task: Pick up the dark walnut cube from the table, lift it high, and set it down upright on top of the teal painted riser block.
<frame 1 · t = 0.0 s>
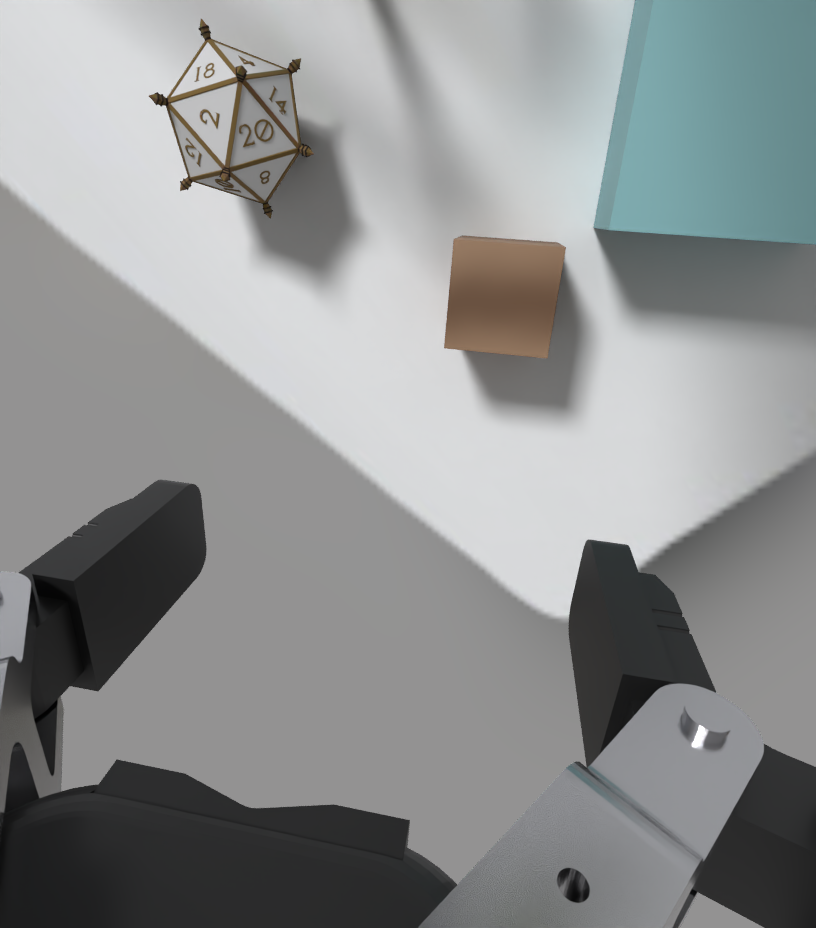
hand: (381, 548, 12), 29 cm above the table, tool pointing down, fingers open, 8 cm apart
walnut cube: (503, 287, 37), on the table
game die: (267, 136, 36), on the table
riser: (725, 119, 31), on the table
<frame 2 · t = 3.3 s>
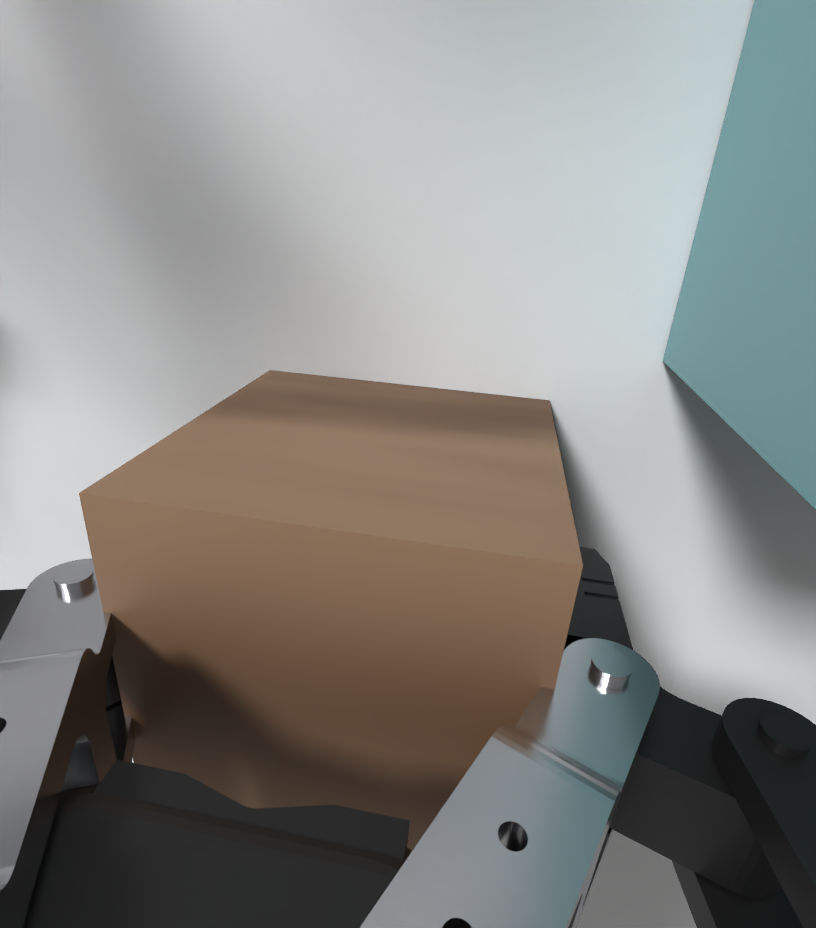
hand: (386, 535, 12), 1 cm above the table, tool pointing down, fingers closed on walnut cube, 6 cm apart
walnut cube: (397, 509, 13), on the table, touching gripper
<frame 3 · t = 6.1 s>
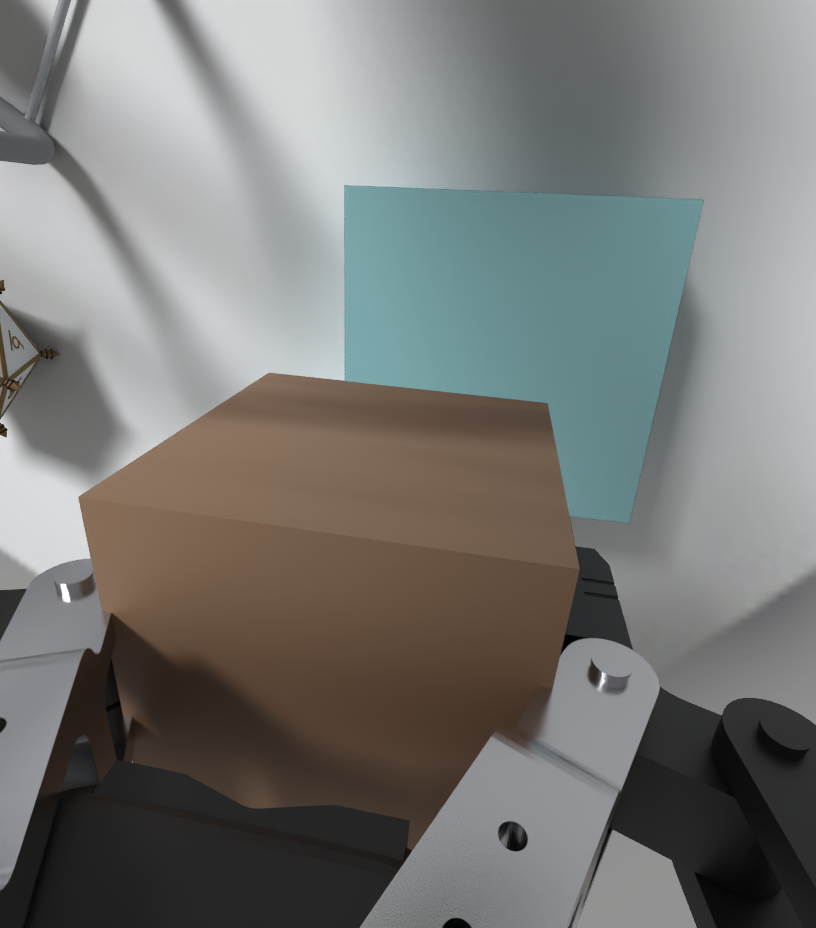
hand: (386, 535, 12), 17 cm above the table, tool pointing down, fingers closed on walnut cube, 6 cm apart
walnut cube: (396, 511, 13), point 16 cm above the table, touching gripper
game die: (12, 336, 32), on the table
riser: (500, 337, 27), on the table
when the fingers open (9 cm above the table, at t = 8.9 s): walnut cube drops 1 cm, resting on riser.
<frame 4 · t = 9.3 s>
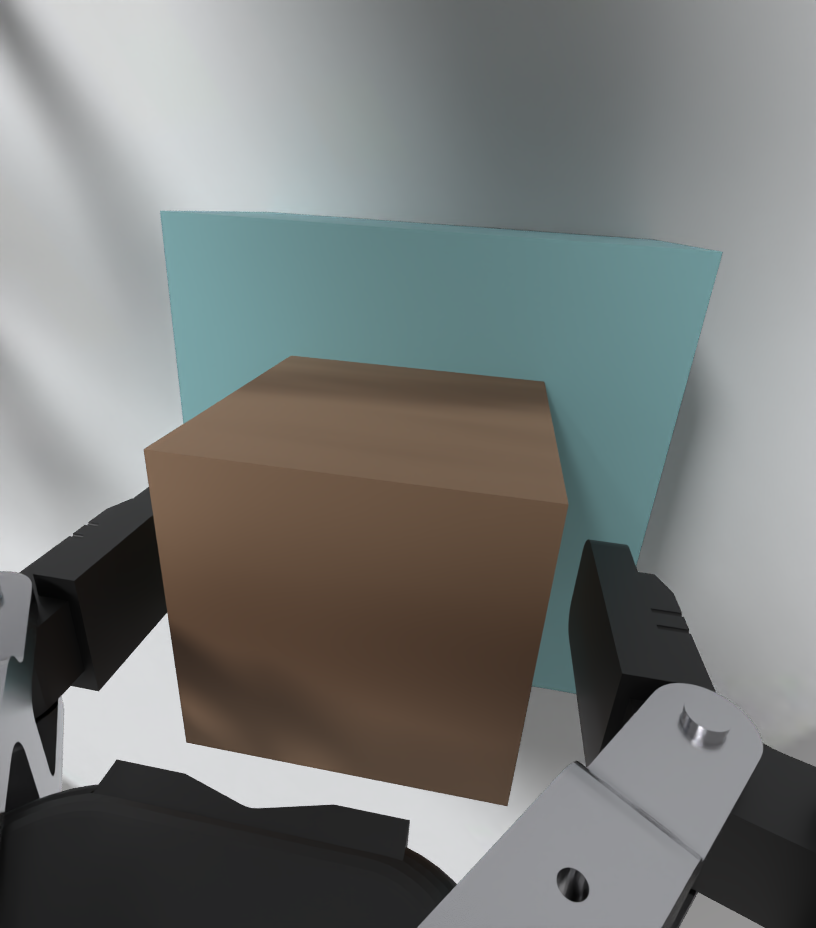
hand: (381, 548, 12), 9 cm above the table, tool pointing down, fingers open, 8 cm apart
walnut cube: (406, 483, 14), point 6 cm above the table, touching riser
riser: (435, 410, 20), on the table
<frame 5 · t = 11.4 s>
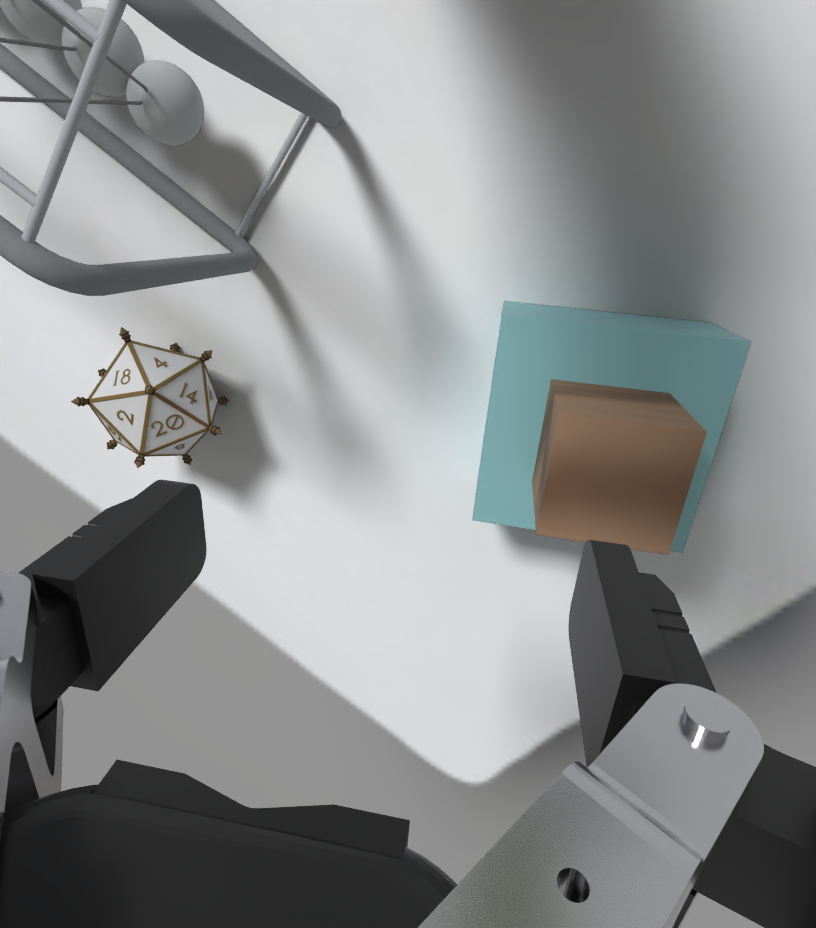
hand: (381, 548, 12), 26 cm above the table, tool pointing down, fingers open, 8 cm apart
walnut cube: (597, 439, 30), point 6 cm above the table, touching riser
game die: (191, 384, 40), on the table
riser: (584, 407, 36), on the table
newton's cradle: (98, 29, 32), on the table
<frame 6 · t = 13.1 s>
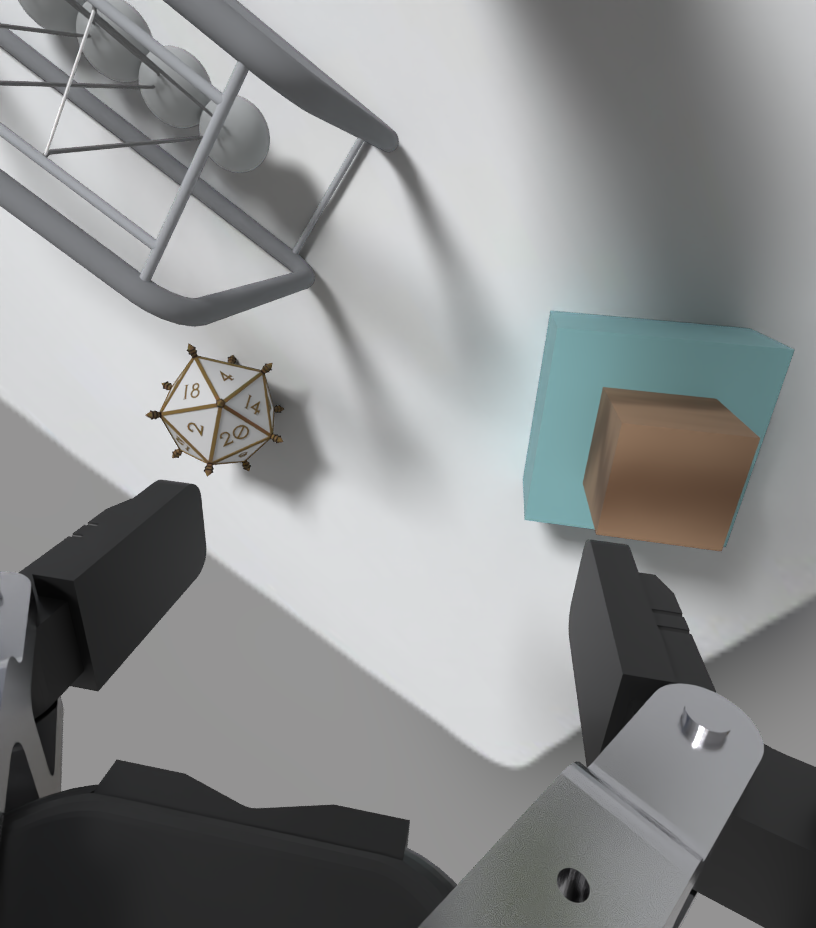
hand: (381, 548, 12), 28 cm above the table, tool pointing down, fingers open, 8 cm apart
walnut cube: (646, 443, 32), point 6 cm above the table, touching riser
game die: (247, 394, 42), on the table
riser: (626, 410, 38), on the table
newton's cradle: (162, 60, 34), on the table
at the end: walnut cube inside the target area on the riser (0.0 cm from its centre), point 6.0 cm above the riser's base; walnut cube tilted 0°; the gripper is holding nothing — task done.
